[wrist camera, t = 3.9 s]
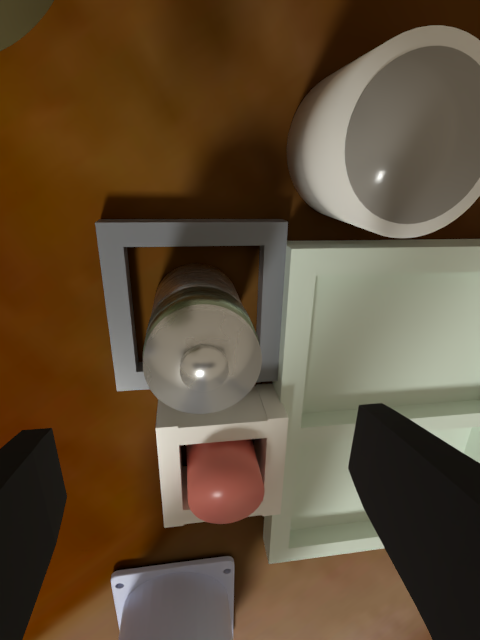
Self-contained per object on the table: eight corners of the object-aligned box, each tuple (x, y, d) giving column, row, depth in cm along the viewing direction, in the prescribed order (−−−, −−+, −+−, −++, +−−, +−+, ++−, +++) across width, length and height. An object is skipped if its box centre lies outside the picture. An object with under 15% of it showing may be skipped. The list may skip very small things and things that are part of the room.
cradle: (273, 371, 20) (277, 380, 19) (120, 380, 19) (117, 391, 18) (282, 219, 17) (288, 222, 16) (100, 219, 16) (95, 222, 15)
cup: (403, 218, 18) (482, 238, 13) (282, 219, 17) (320, 239, 12) (430, 71, 15) (538, 31, 11) (291, 62, 15) (343, 15, 10)
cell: (238, 339, 19) (263, 417, 13) (156, 343, 18) (145, 426, 13) (239, 261, 17) (268, 310, 12) (150, 262, 17) (134, 315, 11)
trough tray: (450, 514, 27) (468, 536, 25) (263, 537, 25) (268, 563, 23) (542, 238, 19) (575, 245, 18) (280, 240, 17) (291, 248, 16)
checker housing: (268, 472, 23) (280, 514, 20) (166, 482, 22) (164, 527, 19) (274, 383, 20) (288, 417, 18) (159, 390, 19) (155, 428, 17)
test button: (249, 459, 22) (262, 519, 18) (187, 465, 21) (189, 528, 18) (250, 409, 20) (266, 462, 17) (185, 414, 20) (186, 470, 16)
